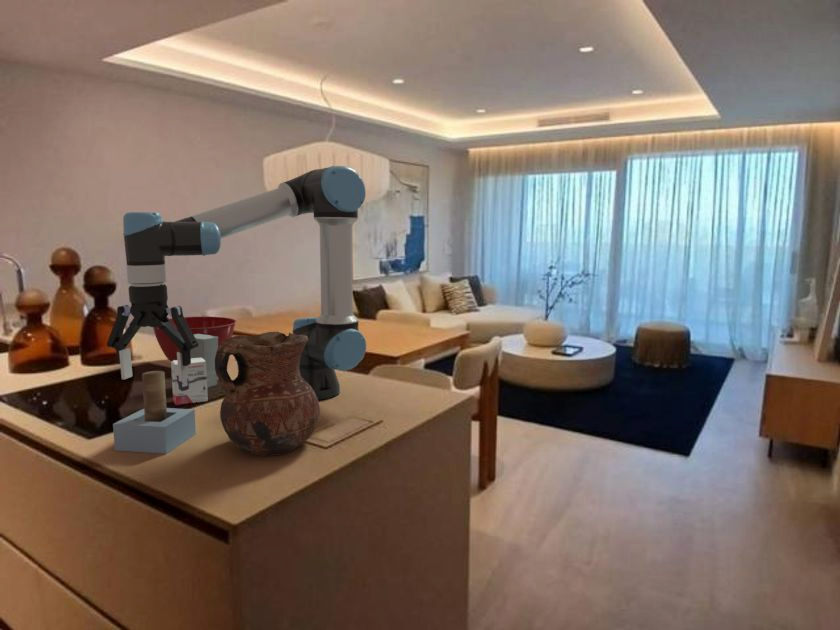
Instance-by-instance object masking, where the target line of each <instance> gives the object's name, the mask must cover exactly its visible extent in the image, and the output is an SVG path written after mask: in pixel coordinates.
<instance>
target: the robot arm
mask: <svg viewBox="0 0 840 630" xmlns="http://www.w3.org/2000/svg"><path fill="white" fill-rule="evenodd" d="M364 182H365V181H364V180H363V178H362V177H361V176H360V175H359V173H358V172H357V171H356V170H355V169H353V168H351V167H349V166H345V165H332V166H328V167H323V168H317V169H313V170H311V171H308V172H305V173H302V174H300V175H299V176H297V177H294V178H291V179H289V180H287V181H283V182H280V183H279V184H278V186H277V187H276V188H275V189H271V190H269V191H264V192H262V193H259V194H256V195H253V196H249V197H247V198H246V197H245V198H244V199H240V200H237V201H234V202H230V203H228V204H225V205H222V206H218V207H216V208H215V207H214V208H213V209H209V210H206V211H203V212H201V213H196V214H193V215H190V216H189V217H185V218H182V219H179V220H175V221H163V220H164V219H163V217H162V215H161V213H159V212H145V211H143V212H142V211H141V212H140V211H139V212H138V211H135V212H134V211H132V212H131V211H130V212H126V213H125V214H124V215H123V218H122V219H123V222H122V223H123V224H122V225H123V233H122V235H123V240H124V252H125V260H126V276H127V277H126V278H127V283H128V284H130V286H129V285H128V288H127V289H128V299H129V303H130V306H129V304H124V305H120V306H117V309H116V318H115V321H114V324H113V327H112V329H111V331H110V335H109V336H108V338H107V341H106V346H107V347H108V348H112V349H114V350H115V352H116V353H115V354H116V362H117V364H118V365H120V375H121V380H126V379H129V378H132V377H133V368H132V367H133V366H132V355H131V348H130V347H129V346H128V345H129V343H130V342H132V340H133V338H134V337H135V335H137V333H138V331H140V328H146V327H150V328H153V327H157V326H158V328H159V329H162V330H163V331H164V332H165V334H166V335H167V336H168V337H169V338H170V339H171V341H172V342H173V343H174V344H175V345H176V346H177V347H178V349H179V350H180V351H179V352H177V362H178V375H179V381H184V380H186V379H188V378H189V375H188V365H190V363H191V356H190V350H191V349H193V348H196V347H198V342H197V340H196V338H195V337H194V335H193V333H192V331H191V329H190V327H189V325H188V324H187V322H186V320H185V318H184V317H185V316H184V313H183V308H182V306H181V305H177V306H172V307H169V306H168V287H167V285H166V284H164V283H166V282H167V275H166V274H167V273H166V261H165V260H166V257H175V256H187V257H188V256H210V255H216V254H218V253H219V251H220V249H221V245H222V244H221V243H222V240H221V239H224V238H227V237H230V236H232V235H235V234H238V233H240V232H244V231H246V230H249V229H252V228H255V227H258V226H261V225H263V224H267V223H270V222H273V221H275V220H277V219H281V218H283V217H286V216H289V217H291V218H295V217H298V216H300V215H306V214H313V220H315V222H316V223H318V225H319V252H320V253H319V257H320V258H319V261H320V263H319V264H320V265H319V266H320V273H319V274H320V315H319V316H311V317H310V316H309V317H301V318H295V320H294V321H293V324H292V325H293V326H292V334H295V335H305V336H307V337H308V342H307V343H306V345H305V347H304V349H303V351H302V354H301V357H300V364H299V370H300V375H301V377H302V378H303V379H304V380H305V381H306V382H307V383H308V384H309V385H310V386H311V387H312V389H313V390H314V392H315V394H316V396H317V399H318V401H319V400H327V399H331V398H334V397H336V396H338V395H339V394H340V393H341V386H340V382H339V378H338V376H337V373H336V371H335V370H337V371H348V370H352V369H354V368H356V366H357V365H359V363H360V362H361V361H362V360H363V359H364V358H365V355H366V351H367V340H366V338H365V336H364V335H363V333H362V332H361V331H360V330H359V319H358V317H357V316H356V315H355V314H354V310H353V309H354V305H353V304H354V302H353V299H354V298H353V295H354V294H353V292H354V291H353V289H354V288H353V284H354V283H353V279H354V278H353V277H354V276H353V225H354V224H355V223H356V222H357V221H358V219H359V215H358V214H359V212H358V211H359V209H360V208H361V207H362V205H363V204H364V202H365V201H366V195H367V194H366V185H365V183H364ZM130 316H132V317H133V319H132V320H131V321H130V323H129V326H127V322H128V320H129V318H130ZM168 316H169V317H171V318H172V319H173V321H174V323H175V325H176V327H177V329H178V331H179V332H180V333H179V332H178V331H177V329H176V328H175V327H174V326H173V325H172V322H171V321H170V320H169V317H168ZM163 322H164V323H163ZM126 326H127V328H126ZM125 328H126V330H125ZM124 330H125V331H124ZM337 394H338V395H337ZM333 396H334V397H333ZM330 397H331V398H330ZM326 398H327V399H326Z"/></svg>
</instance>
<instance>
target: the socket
mask: <svg viewBox="0 0 840 630" xmlns="http://www.w3.org/2000/svg"><path fill="white" fill-rule="evenodd" d="M166 409H167V419H165V420H163V421H161V422H150V421H145V414H144V408H142V409H140V410H138V411H136V412H134V413H132V414H130V415H128V416H126V417H124V418H122V419H120V420H118V421H116V422H115V423H112V429H113V431H112V432H113V443H114V451H117V452H118V451H119V452H134V453H145V454H147V453H148V454H151V453H152V454H161V455H163V454H164V455H165V454H166V455H167V454H168V453H170V452H171V451H173V450H175V449H176V448H177V447H179V446H180V445H181V444H183V443H185V442H187V440H189V439H191V438H192V437H194V436H195V435H197V434H196V433H197V432H196V429H197V428H196V414H195V413H196V411H195V410H196V409H195V408H194V409H190V408H188V409H187V408H174V407H172V408H171V407H166Z"/></svg>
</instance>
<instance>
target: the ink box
mask: <svg viewBox="0 0 840 630" xmlns="http://www.w3.org/2000/svg"><path fill="white" fill-rule="evenodd" d="M170 367H171V369H170V370H171V383H172V384H171V385H172V387H171V388H172V401H173V404H175V406H183V405H188V404H189V403H190V404H195V403H196V402H197V403H203V402H204V403H205V402H208V400H209V398H208V397H209V395H208V388H207V372H206V361H205V360H204V359H203V358H191V363H190V365H188V375H189V378H188V379H186V380H184V381H179V375H178V362H177V360H174V361H170ZM197 403H196V404H197ZM182 404H183V405H182Z"/></svg>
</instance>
